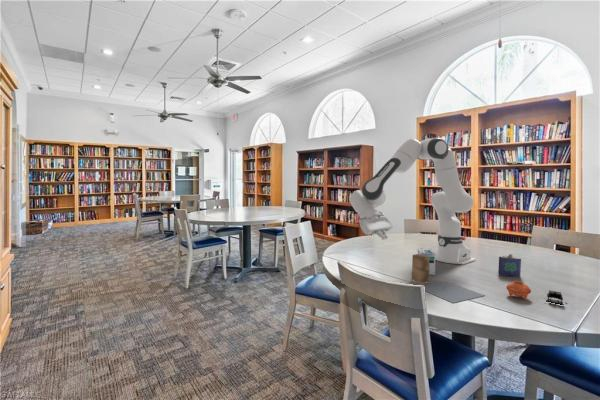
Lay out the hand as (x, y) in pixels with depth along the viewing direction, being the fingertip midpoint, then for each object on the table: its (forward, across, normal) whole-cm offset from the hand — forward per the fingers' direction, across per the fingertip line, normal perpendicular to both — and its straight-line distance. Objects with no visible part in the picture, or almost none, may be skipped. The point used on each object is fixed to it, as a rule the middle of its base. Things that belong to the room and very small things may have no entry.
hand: (385, 238), depth 151 cm
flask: (+41, +42, -17) cm, 61 cm away
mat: (+35, -2, -12) cm, 37 cm away
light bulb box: (+21, +16, +3) cm, 27 cm away
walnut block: (+25, 0, -2) cm, 25 cm away
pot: (+49, +14, -25) cm, 57 cm away
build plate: (+57, +18, -32) cm, 68 cm away
